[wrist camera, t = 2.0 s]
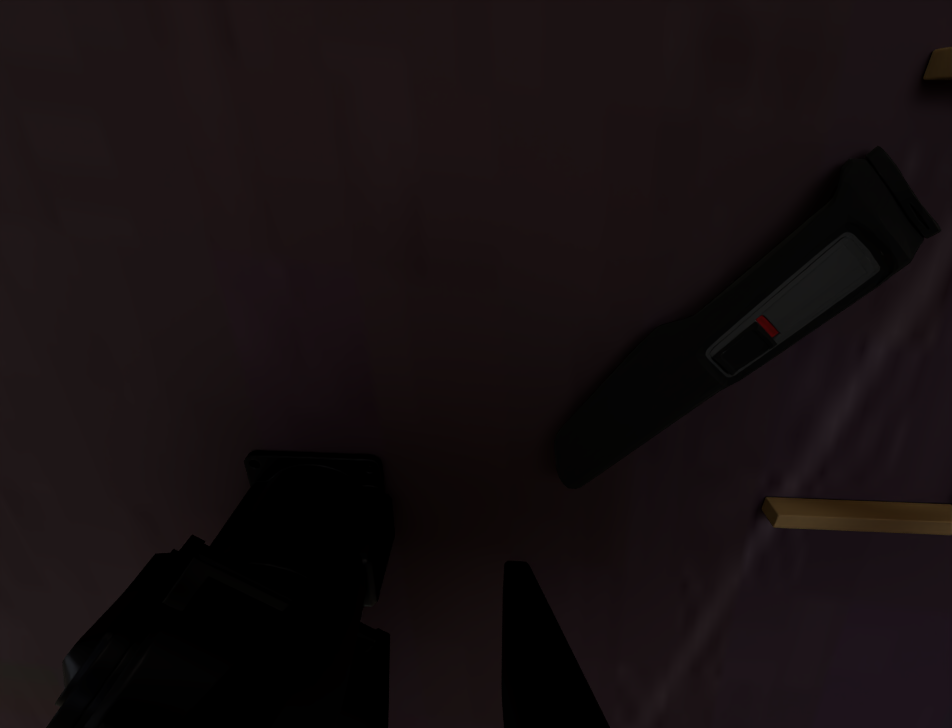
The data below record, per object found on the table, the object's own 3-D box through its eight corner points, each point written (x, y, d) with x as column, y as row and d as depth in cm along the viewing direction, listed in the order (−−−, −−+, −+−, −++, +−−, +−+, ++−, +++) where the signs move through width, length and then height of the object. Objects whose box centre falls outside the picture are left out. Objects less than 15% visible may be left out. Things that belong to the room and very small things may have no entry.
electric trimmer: (528, 417, 21) (531, 463, 19) (864, 134, 15) (943, 138, 13) (585, 464, 22) (596, 513, 20) (920, 215, 17) (1004, 235, 14)
